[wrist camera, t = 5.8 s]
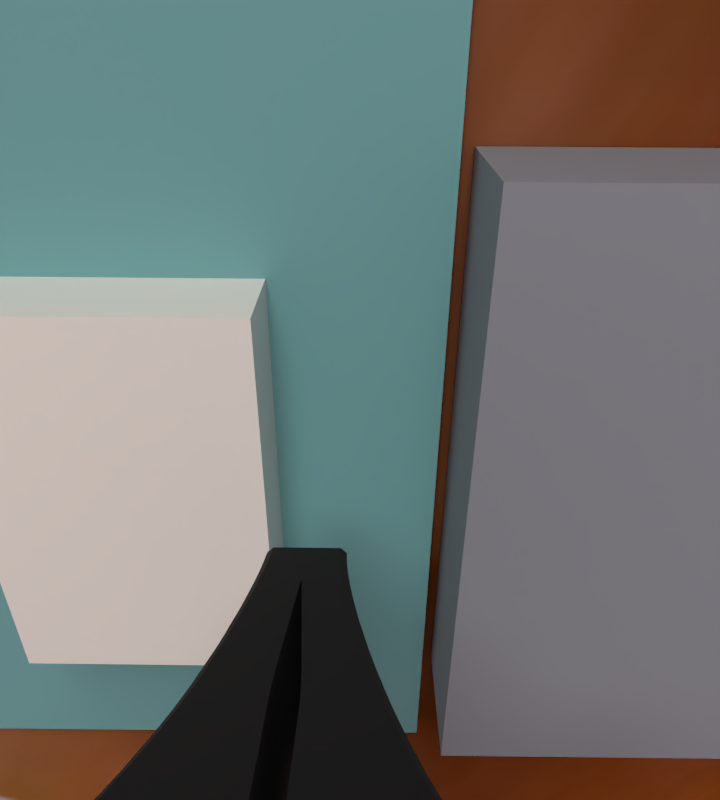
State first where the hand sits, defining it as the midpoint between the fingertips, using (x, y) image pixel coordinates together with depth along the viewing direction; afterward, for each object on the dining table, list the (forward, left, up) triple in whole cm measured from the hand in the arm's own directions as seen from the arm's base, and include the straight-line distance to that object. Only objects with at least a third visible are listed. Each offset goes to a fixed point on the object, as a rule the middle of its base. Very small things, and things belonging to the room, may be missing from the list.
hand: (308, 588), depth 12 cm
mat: (0, +4, -4) cm, 6 cm away
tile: (0, +4, -2) cm, 4 cm away
